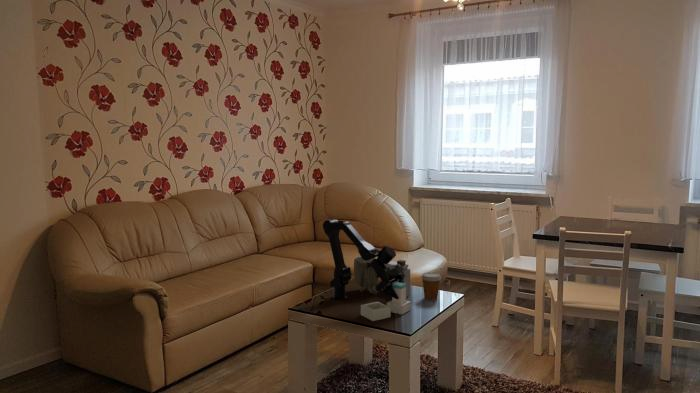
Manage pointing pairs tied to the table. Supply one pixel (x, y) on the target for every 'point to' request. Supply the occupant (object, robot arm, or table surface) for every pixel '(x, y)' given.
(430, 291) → the disposable coffee cup
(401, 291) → the plug
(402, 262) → the perfume bottle
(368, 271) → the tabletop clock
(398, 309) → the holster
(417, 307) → the table surface
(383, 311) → the socket block
